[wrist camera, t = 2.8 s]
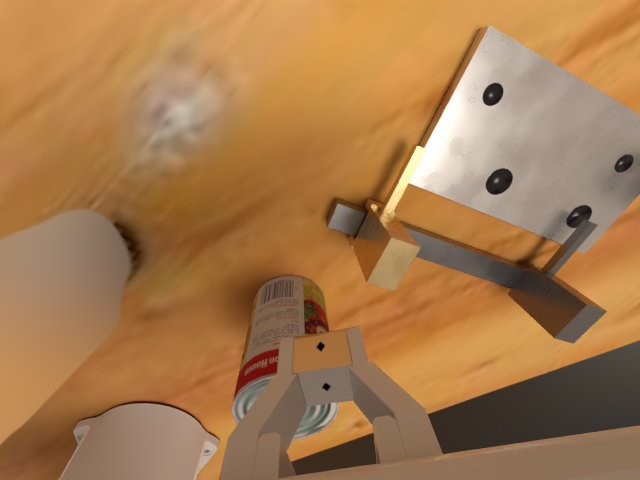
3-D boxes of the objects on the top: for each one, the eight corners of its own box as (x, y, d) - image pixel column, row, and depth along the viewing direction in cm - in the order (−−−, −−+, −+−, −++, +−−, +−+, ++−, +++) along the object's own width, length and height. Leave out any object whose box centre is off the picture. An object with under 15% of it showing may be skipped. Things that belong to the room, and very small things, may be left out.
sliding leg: (369, 247, 28) (392, 294, 22) (348, 240, 28) (364, 285, 21) (421, 147, 24) (469, 168, 18) (397, 137, 24) (437, 153, 17)
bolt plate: (575, 248, 31) (585, 253, 30) (401, 178, 26) (406, 182, 25) (670, 140, 26) (686, 142, 25) (479, 28, 21) (490, 24, 20)
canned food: (275, 339, 34) (265, 451, 23) (240, 292, 30) (209, 399, 19) (335, 315, 33) (354, 421, 22) (306, 263, 29) (312, 360, 18)
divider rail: (526, 294, 33) (587, 347, 26) (322, 227, 27) (331, 272, 20) (589, 221, 29) (681, 260, 22) (367, 124, 23) (397, 136, 16)
